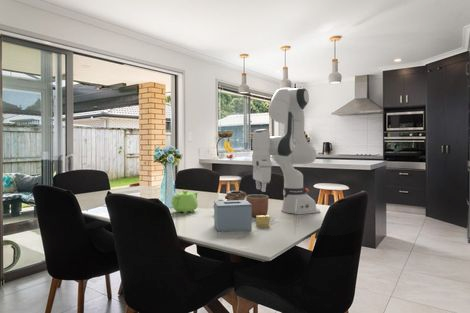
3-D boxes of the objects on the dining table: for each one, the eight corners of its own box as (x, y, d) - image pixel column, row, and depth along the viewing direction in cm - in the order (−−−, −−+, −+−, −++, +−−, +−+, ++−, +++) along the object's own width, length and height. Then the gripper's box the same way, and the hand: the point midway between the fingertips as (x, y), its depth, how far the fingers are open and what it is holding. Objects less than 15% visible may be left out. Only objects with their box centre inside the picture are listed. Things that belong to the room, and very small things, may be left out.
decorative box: (217, 208, 198) (217, 192, 197) (231, 203, 215) (231, 188, 215) (236, 210, 192) (236, 194, 191) (249, 204, 210) (249, 189, 209)
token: (267, 225, 157) (267, 215, 157) (269, 226, 155) (269, 216, 155) (256, 225, 156) (256, 215, 156) (257, 227, 154) (257, 216, 154)
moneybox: (246, 223, 160) (245, 199, 160) (251, 230, 148) (251, 204, 148) (214, 225, 157) (214, 201, 157) (217, 231, 145) (217, 205, 145)
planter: (264, 212, 185) (264, 194, 184) (271, 217, 173) (271, 197, 172) (243, 213, 182) (243, 194, 182) (249, 218, 170) (249, 198, 170)
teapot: (189, 207, 200) (189, 187, 200) (205, 210, 192) (205, 189, 192) (164, 213, 184) (164, 191, 184) (181, 216, 176) (180, 193, 176)
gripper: (250, 161, 165) (249, 188, 165) (260, 162, 145) (259, 193, 145) (261, 161, 166) (261, 187, 166) (273, 162, 146) (273, 192, 146)
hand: (260, 190), depth 156 cm, fingers open, 8 cm apart
